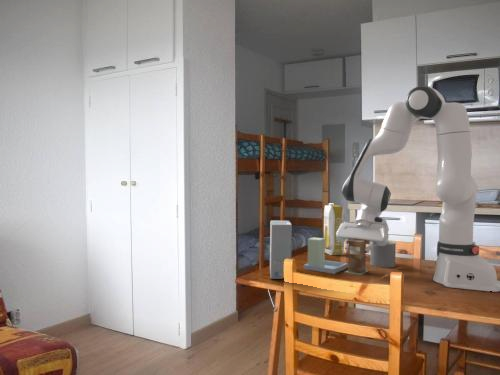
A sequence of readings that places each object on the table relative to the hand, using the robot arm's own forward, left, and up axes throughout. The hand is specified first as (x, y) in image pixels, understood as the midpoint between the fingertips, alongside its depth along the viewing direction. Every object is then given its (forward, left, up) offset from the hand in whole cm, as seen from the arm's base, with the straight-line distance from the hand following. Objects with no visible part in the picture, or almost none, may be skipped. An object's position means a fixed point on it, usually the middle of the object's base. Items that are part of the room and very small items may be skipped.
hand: (356, 250), depth 171 cm
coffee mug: (-4, -21, -9) cm, 23 cm away
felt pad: (0, -1, -9) cm, 9 cm away
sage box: (+15, +4, -8) cm, 18 cm away
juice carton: (+24, -31, -9) cm, 40 cm away
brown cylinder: (0, -1, -8) cm, 8 cm away
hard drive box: (+23, +19, -9) cm, 31 cm away
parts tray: (+12, +1, -9) cm, 15 cm away
